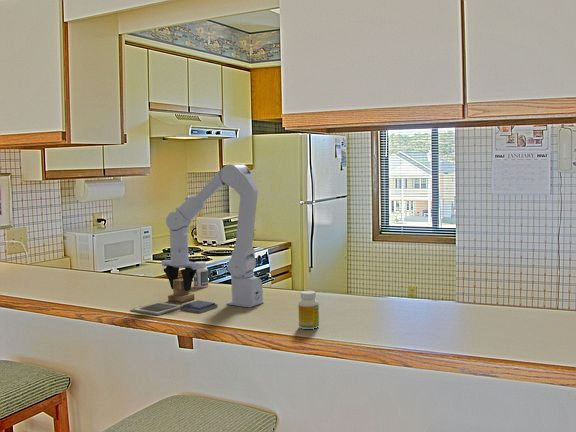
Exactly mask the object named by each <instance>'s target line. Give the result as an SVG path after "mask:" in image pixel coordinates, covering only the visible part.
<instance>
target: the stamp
mask: <svg viewBox="0 0 576 432" xmlns="http://www.w3.org/2000/svg"><path fill="white" fill-rule="evenodd" d="M172 291H173V294H169V295H167V297H168V298H167V302H171V303H176V302H178V304H184V302H185V303H188V302H190V301H191V302H192V301H194V300H195V293H190V290H188V291H185V290H184V281H183V277H182V278H178V279H176V280H173V289H172ZM187 301H188V302H187Z"/></svg>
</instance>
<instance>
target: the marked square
mask: <svg viewBox="0 0 576 432" xmlns="http://www.w3.org/2000/svg"><path fill="white" fill-rule="evenodd" d="M182 306H183V305H179V304H174V303H166V302H161V301H159V302H158V301H157V302H154V303H150V304H147V305H144V306H140V307H136V308H133V309H130V310H129V311H130V312H133V313H139V314H140V313H141V314H145V315H146V314H147V315H151V316H157V317H158V316H163V315H165V314H169V313H171V312H174V311H175V312H176V311H179V310H181V307H182ZM178 309H179V310H178Z"/></svg>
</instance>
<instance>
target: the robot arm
mask: <svg viewBox="0 0 576 432" xmlns="http://www.w3.org/2000/svg"><path fill="white" fill-rule="evenodd" d="M226 186H228V187H230V188H232V189H233V190H234V191H235V192H236V193H237V194H238V196H239V197H240V198H239V205H238V206H239V207H238V214H237V215H238V217H237V227H236V235H235V245H234V247H233V250H232V251H231V257H230V259H229V260H228V264H227V270H228V272H229V274H230V278H231V279H230V280H231V281H230V282H231V301H227V302H226V305H229V306H230V305H231V306H237V307H243V308H253V307H255V306H257V305H260V304H264V303H265V300H264V298H263V297H264V296H263V291H264V290H263V282H262V279H261V278H260V277H257V276H255V272H254V270H255V268H256V266H257V259H256V257H255V256H256V254H255V252H256V251H255V249H254V246H253V244H254V243H253V242H254V241H253V240H254V229H255V222H256V212H257V204H258V203H257V202H258V192H259V191H258V186H257V185H256V183H255V180H254V178H253V172H252V170H250V168H249V167H247V166H246V164H244V163H243V164H242V163H237V164H232V163H231V164H225V165H224V166H222V168H221V169H220V170H218V171H217V172H216V173H215V174H214V175H213V177H211V178H210V180H209V181H208V182H207V183H206V185H205V186H203V188H202V189H201V190H200V191H199V192H198V193H197V194H196V195H195V194H194V195H193V194H192V195H188V196H187V195H186V197H185V198H184V200H185V201H183V202H182V204H181V205H179V206H177V207H175V211H172V212H169V213H168V215H167V216H166V219H165V224H166V226H167V228H168V229H169V248H170V249H169V250H170V259H163V260H161V267H165V268H163V272H164V273H165V275H166V277H167V279H168V282H169V286H170V288H171V290H173V280H176V279H179V271H180V273H181V275H182V276H181V277H182V279H183V281H184V290H185V291H188V290H189V291H191V289H192V284H193V281H194V278H193V277H194V275H195V273H196V271H197V269H199V263H196V262H197V261H191V260H189V259H190V258H189V242H188V241H189V240H188V239H189V238H188V236H189V235H188V230H189V229H188V227H189V226H190V225H191V221H192V220H193V219H194V218H195V217H196V216H197V215H198V214H199V213H200V212H201V211H203V209H204V208H205V202H206V201H208V199H210V198H211V197H212V196H213V195H214V194H215V193H216V192H218V190H220V189H221V188H223V187H226Z"/></svg>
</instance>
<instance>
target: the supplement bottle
mask: <svg viewBox="0 0 576 432" xmlns="http://www.w3.org/2000/svg"><path fill="white" fill-rule="evenodd" d="M316 295H317V294H316V291H314V290H303V291H301V292H300V298H301V299H300V300H298V328H299V327H300V328H299V329H301V328H302V329H301V330H304V329H313V328H316V327H318V326H319V327H320V321H319V320H320V318H319V317H320V316H319V313H320V312H319V301H318V299H316ZM319 327H318V328H319ZM313 330H314V329H313Z"/></svg>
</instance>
